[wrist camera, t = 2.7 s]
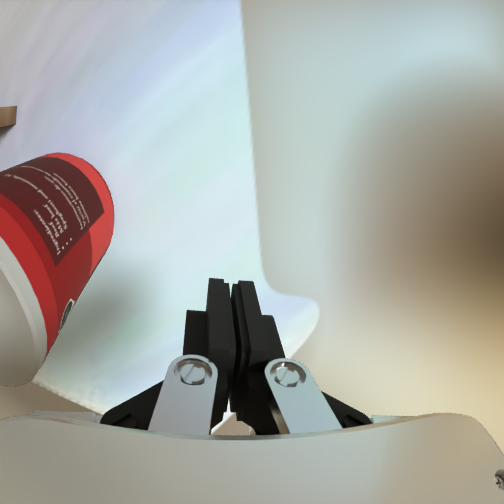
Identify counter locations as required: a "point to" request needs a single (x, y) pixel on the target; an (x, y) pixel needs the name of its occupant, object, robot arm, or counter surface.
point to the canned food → (46, 253)
